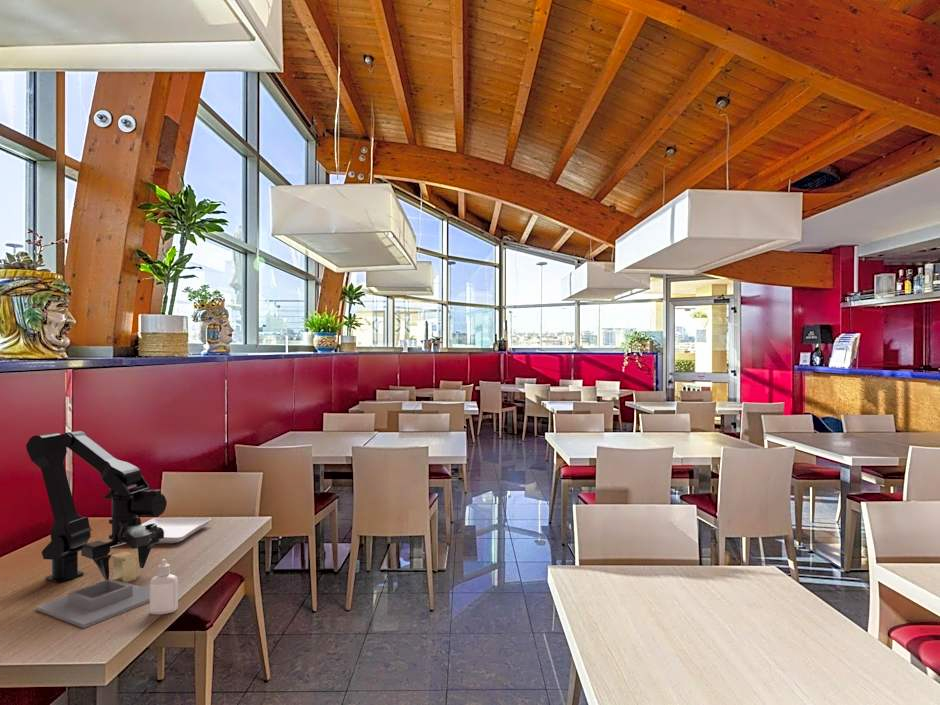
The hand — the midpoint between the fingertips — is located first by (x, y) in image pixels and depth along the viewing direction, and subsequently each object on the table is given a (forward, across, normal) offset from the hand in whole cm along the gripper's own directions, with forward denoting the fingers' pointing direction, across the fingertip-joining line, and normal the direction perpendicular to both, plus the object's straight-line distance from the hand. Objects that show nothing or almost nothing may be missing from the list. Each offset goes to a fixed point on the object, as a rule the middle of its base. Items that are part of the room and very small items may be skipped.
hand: (124, 573), depth 147 cm
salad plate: (+2, +29, +26) cm, 39 cm away
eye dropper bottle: (+2, -7, -27) cm, 28 cm away
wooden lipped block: (+2, 0, 0) cm, 2 cm away
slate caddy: (+2, -11, -9) cm, 14 cm away
